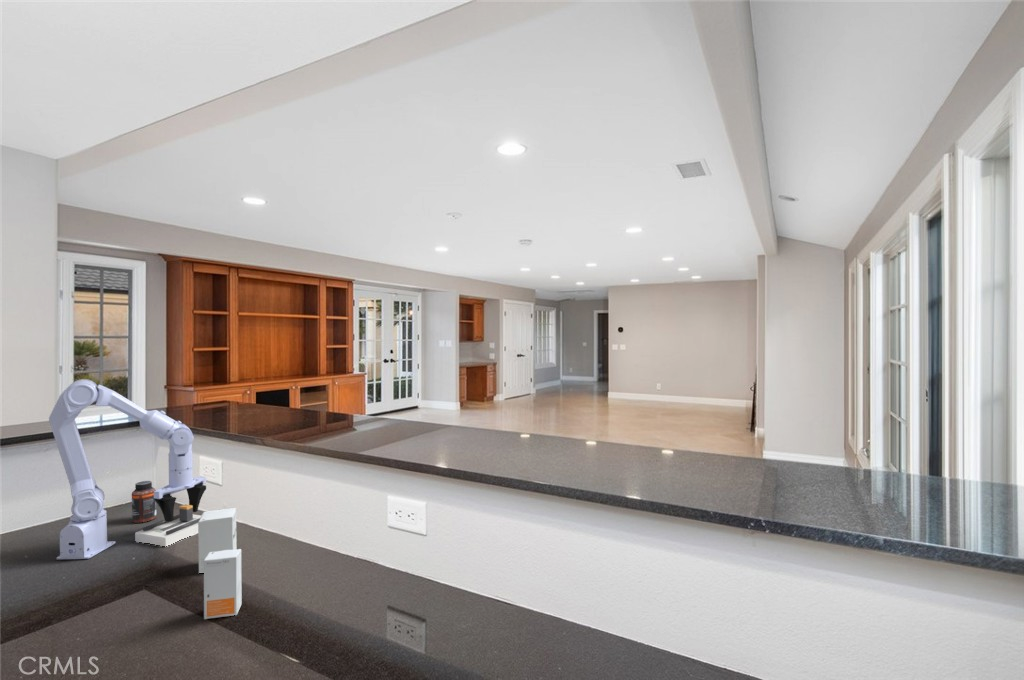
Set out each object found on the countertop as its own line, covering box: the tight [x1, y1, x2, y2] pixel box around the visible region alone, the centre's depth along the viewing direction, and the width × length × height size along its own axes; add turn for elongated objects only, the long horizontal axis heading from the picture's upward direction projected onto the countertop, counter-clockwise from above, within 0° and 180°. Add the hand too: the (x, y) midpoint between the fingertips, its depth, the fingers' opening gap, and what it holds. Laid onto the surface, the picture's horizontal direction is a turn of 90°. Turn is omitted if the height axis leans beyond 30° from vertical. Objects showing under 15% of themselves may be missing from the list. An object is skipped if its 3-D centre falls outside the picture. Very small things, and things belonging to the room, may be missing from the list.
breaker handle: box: [178, 503, 194, 522], centre depth 146 cm, size 2×3×4 cm, turn 72°
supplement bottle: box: [131, 480, 157, 524], centre depth 154 cm, size 6×6×11 cm
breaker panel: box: [134, 513, 202, 548], centre depth 143 cm, size 15×11×4 cm
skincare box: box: [203, 548, 243, 620], centre depth 103 cm, size 6×4×12 cm
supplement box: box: [197, 507, 238, 574], centre depth 124 cm, size 7×7×13 cm
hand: (181, 516), depth 145 cm, fingers open, 7 cm apart
